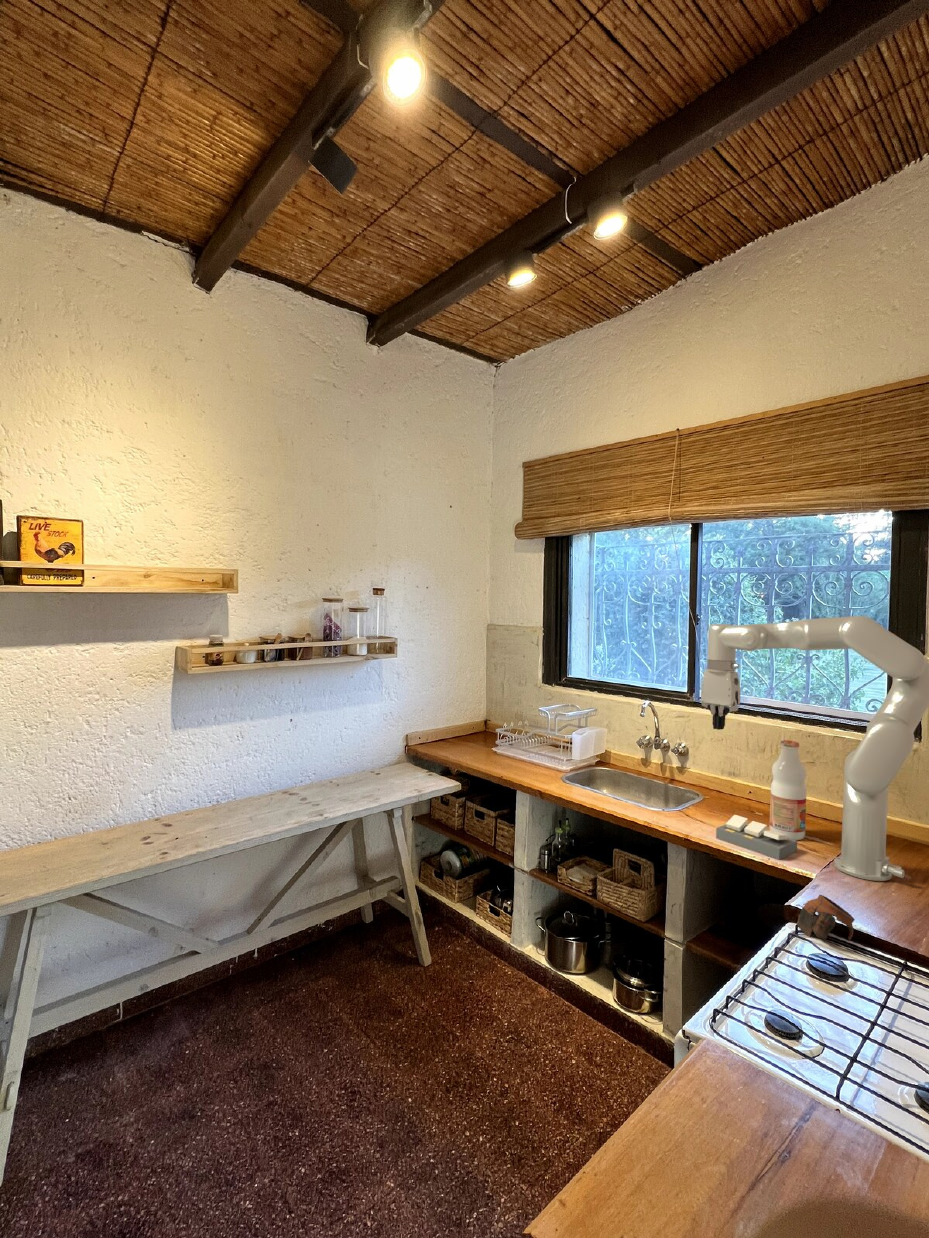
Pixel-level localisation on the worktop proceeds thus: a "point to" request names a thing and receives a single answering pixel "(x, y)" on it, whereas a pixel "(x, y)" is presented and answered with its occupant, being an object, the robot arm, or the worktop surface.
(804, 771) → the fruit juice
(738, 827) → the rocker
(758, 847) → the switch panel
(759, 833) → the rocker
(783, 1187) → the worktop surface
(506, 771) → the worktop surface
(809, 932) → the pottery mug
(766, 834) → the block
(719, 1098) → the worktop surface
